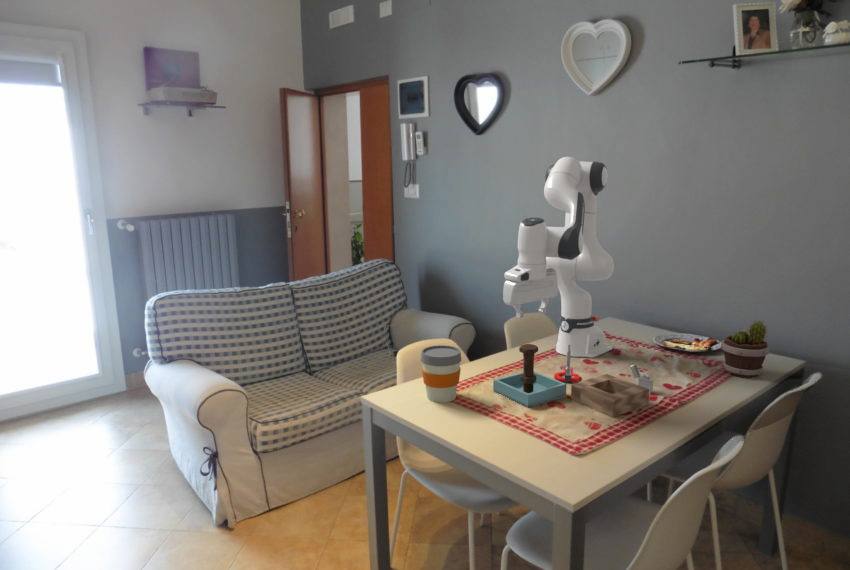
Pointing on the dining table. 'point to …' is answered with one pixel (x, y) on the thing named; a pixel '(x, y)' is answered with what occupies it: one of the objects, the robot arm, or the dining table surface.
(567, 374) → the red valve handwheel
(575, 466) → the dining table surface
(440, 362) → the reusable coffee cup
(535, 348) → the bolt
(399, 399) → the dining table surface
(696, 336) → the food plate
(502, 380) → the tray
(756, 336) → the flowerpot
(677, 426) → the dining table surface
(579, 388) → the socket block
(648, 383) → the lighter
